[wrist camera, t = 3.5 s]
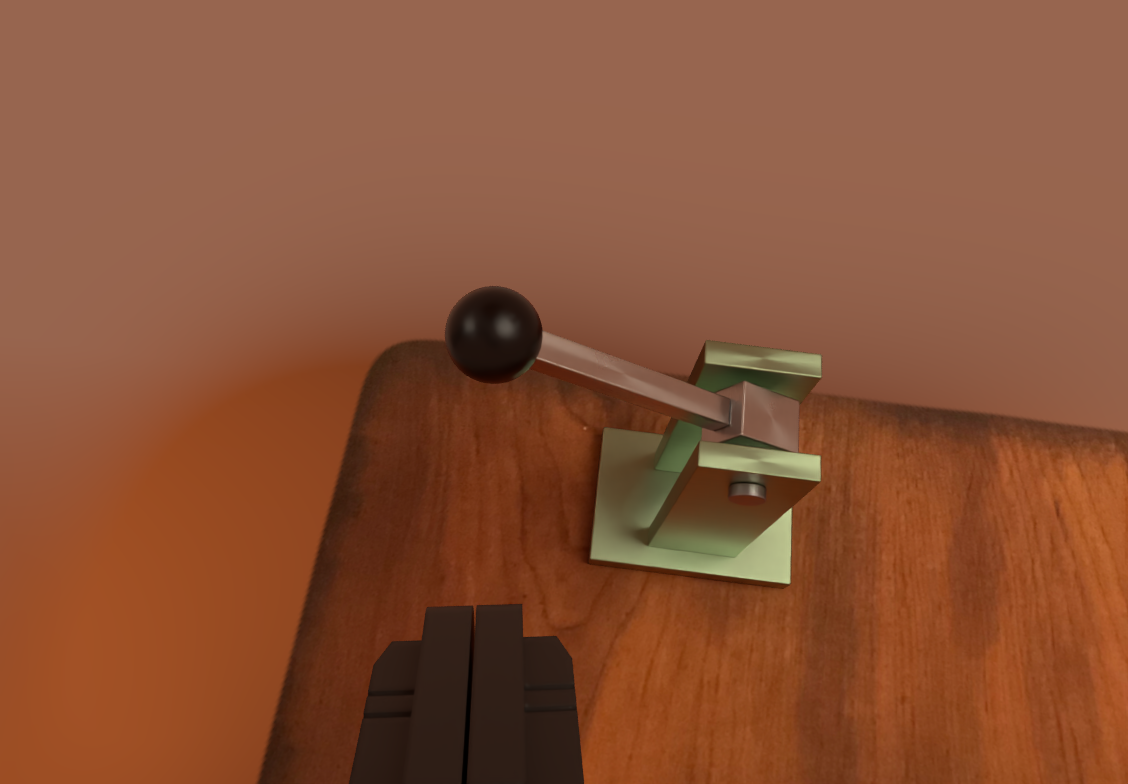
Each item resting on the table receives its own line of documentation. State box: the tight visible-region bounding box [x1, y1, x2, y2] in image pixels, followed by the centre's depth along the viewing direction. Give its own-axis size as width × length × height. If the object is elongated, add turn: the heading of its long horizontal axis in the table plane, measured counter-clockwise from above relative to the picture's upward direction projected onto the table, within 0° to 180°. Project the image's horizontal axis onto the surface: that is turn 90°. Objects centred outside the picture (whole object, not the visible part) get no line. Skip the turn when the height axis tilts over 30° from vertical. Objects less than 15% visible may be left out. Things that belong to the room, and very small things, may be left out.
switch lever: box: [445, 286, 799, 453], centre depth 31 cm, size 14×3×3 cm, turn 83°
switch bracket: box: [588, 340, 822, 589], centre depth 39 cm, size 10×7×15 cm
